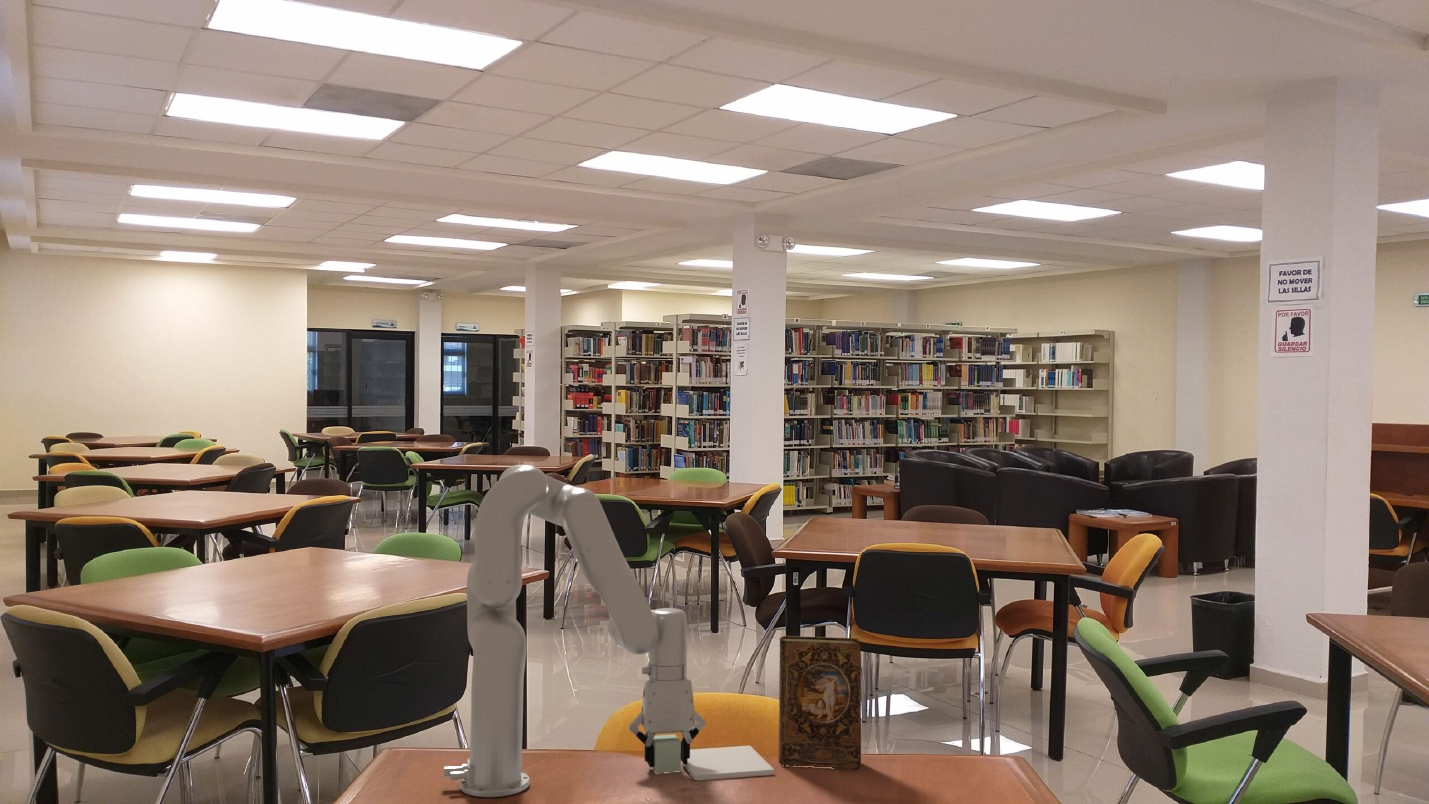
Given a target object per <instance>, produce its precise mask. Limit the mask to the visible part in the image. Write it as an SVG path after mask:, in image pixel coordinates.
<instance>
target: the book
mask: <svg viewBox="0 0 1429 804" xmlns="http://www.w3.org/2000/svg"><path fill="white" fill-rule="evenodd" d="M861 648H862V647H861V645H860V640H859V638H857V637H832V636H830V637H828V636H800V635H799V636H798V635H794V636H793V635H785V636H780V637H779V673H778V674H779V676H778V677H779V679H778V680H779V681H778V682H779V685H778V687H779V688H778V689H779V690H778V692H779V693H778V697H779V698H778V703H779V704H778V705H779V706H778V707H779V708H778V764H779V763H780V764H781V765H784V766H786V765H789V766H794V765H795V766H814V767H832V768H834V769H833V770H839V769H847V771H849V770H850V771H851V770H854V771H855V770H859V769H860V767H861V762H862V657H861V656H862V649H861Z"/></svg>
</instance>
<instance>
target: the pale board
mask: <svg viewBox="0 0 1429 804" xmlns="http://www.w3.org/2000/svg"><path fill="white" fill-rule="evenodd" d="M684 765H685V767H686V768H685V767H684V768H685V770H686V769H687V770H688V771H687V770H686V771H687V773H688V772H689V773H690V774H689V773H688V774H689V775H690V777H691V776H692V777H691V778H692V779H693V780H697V781H707V780H709V781H710V780H721V779H734V778H735V779H736V778H746V777H747V778H748V777H749V778H750V777H757V776H758V777H760V776H774V775H775V769H774V768H773V767H772V766H771V765H770V764H769V763H768V762H767V761H766V760H765V758H763V757H762V756H761V755H760V754H759V753H758V752H757V751H756V750H755V749H754V748H753V747H752V746H751V745H740V746H739V745H738V746H727V747H726V746H725V747H710V748H708V747H707V748H696V749H690V758H689V759H688V763H687V764H684Z"/></svg>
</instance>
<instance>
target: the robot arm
mask: <svg viewBox="0 0 1429 804" xmlns="http://www.w3.org/2000/svg"><path fill="white" fill-rule="evenodd" d="M528 514H529V515H531V516H534V517H537V518H539V519H542V520H544V521H547V522H550V523H552V524H554V525H557V526H559V527H562V529H563V530H564V533H565V536H566V538H567V540H568V542H569V545H570V546H571V549H572V552H574V553H573V554H574V556H575V558H576V561H577V563H578V565H579V567H580V571H581V572H582V574H583V576H584V577H585V579H586V581H587V582H588V583H589V585H590V586H591V587H592V588H593V589H594V590H595V592H596V593H597V594H598V595H599V596H600V599H601V600H602V602H603V604H604V605H605V607H606V609H607V611H608V613H609V614H610V618H609V621H608V624H607V630H608V633H609V636H610V638H611V639H612V641H613V642H615V643H616V644H617V645H618V646H620V648H623V649H624V650H625V651H627V652H628V653H631V655H632V654H633V655H645V654H647V653H648V658H649V659H648V664H647V666H645V667H641V674H642V675H646V676H648V677H646V678H645V682H644V686H643V693H642V694H643V695H642V702H641V711H640V712H639V714H637V716H636V717H635V718H634V719H633V720H632V722H630V723H629V724H628V726H627V727H628V729H629V732H631V733H632V734H633V735H634V736H635V737H636V738H637V739H639V740H640V742H641V743H643V744H644V762H645V763H646V764H647V765H648V767H649V768H651V767H653V766H654V747H653V745H652V741H653V739H654V736H656V735H657V734H667V733H668V734H671V733H680V734H681V735H682V739H681V740H680V741H681V761H682V762H683V764H687V763H688V759H689V758H690V750H691V744H692V743H693V740H694V739H695V738H696V737H697V736H698V735H699V733H700V731H701V730H703V728H704V727H705V726H706V725H707V722H706V720H705V719H704V718H703V717H702V716H701V715H699V713H698V712H697V711H695V702H694V700H695V698H694V692H693V690H694V689H693V683H692V679H691V678H690V677H689V676H687V675H688V674H687V669H688V668H687V667H688V666H687V664H688V663H687V662H688V660H687V659H688V657H687V656H688V653H687V652H688V651H687V649H688V648H687V647H688V644H687V643H688V642H687V641H688V639H687V638H688V636H687V635H688V620H687V619H688V617H687V614H686V612H685V611H684V610H683V609H680V608H674V607H663V608H656V609H651V607H650V605H649V601H648V600H647V598H646V596H645V594H644V591H643V589H642V588H641V586H640V584H639V582H638V580H637V579H636V576H635V575H634V573H633V571H632V569H631V567H630V565H629V564H628V561H627V560H626V557H625V556H624V553H623V552H622V550H621V547H620V545H619V542H618V541H617V539H616V537H615V534H614V531H613V530H612V526H611V524H610V522H609V519H608V517H607V515H606V513H605V510H604V508H603V505H602V503H601V502H600V500H599V498H598V497H597V495H596V494H595V492H594V491H591V490H590V489H587V488H584V487H578V486H574V485H572V484H568V483H566V482H563V481H561V480H558V479H555V478H553V477H552V476H549V475H546V474H545V472H543V471H542V470H541V469H540V468H539V467H537V466H534V465H529V464H516V465H512V466H510V467H508V468H506V469H505V470H504V471H503V472H502V473H501V474H500V476H499V478H498V481H497V482H495V483H494V484H493V485H492V486H491V487H490V489H489V490H488V491H487V492H486V494H485V495H484V497H483V498H482V501H481V502H480V504H479V507H478V511H477V514H476V519H475V530H474V531H475V534H474V535H475V536H474V561H473V562H472V564H471V565H470V568H469V569H468V572H467V578H466V608H467V609H466V622H467V623H466V624H467V638H468V642H469V644H470V646H471V649H472V654H473V655H472V656H473V657H472V673H471V689H470V690H471V691H470V729H469V730H470V732H469V733H470V734H469V736H470V737H469V758H467V763H462V764H461V765H459V766H454V765H449V766H448V765H447V766H444V768H443V769H444V770H443V777H444V778H450V781H455V780H457V781H458V780H460V784H459V786H460V787H459V788H460V790H461V792H463V793H464V794H465V795H469V796H473V797H479V798H498V797H499V798H500V797H507V796H510V795H514V794H515V795H516V794H519V793H521V792H523V791H524V790H526V789H527V788H528V787H529V786H530V781H531V780H530V779H531V778H530V776H529V775H528V774H527V773H525V772H522V765H523V764H522V763H523V761H522V759H523V725H524V724H523V720H524V719H523V717H524V685H525V684H524V683H525V681H524V678H525V668H526V661H527V659H526V658H527V651H528V650H527V647H528V646H527V638H526V633H525V630H524V628H523V627H522V625H521V623H520V622H519V621H518V620H517V598H519V596H520V594H521V590H522V588H523V574H522V573H523V572H522V549H521V548H522V547H521V545H522V529H523V523H524V520H525V519H526V516H527V515H528ZM695 722H696V723H695ZM640 725H642V727H643V729H644V730H645V733H644V732H642V731H641V730H640V729H639V726H640ZM683 764H682V765H683Z"/></svg>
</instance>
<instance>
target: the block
mask: <svg viewBox="0 0 1429 804" xmlns="http://www.w3.org/2000/svg"><path fill="white" fill-rule="evenodd" d="M652 745H653V747H654V766H653V767H652V768H653V770H654V771H655V773H664V772H674V771H680V772H681V765H682V763H681V740H680V739H679V737H678V736H677V734H675V733H673V734H661V735H660V734H659V735H657V734H656V735H655V736H654V739H653V741H652ZM652 768H651V769H652ZM653 770H652V771H653ZM654 771H653V772H654ZM655 773H654V774H655Z"/></svg>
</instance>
